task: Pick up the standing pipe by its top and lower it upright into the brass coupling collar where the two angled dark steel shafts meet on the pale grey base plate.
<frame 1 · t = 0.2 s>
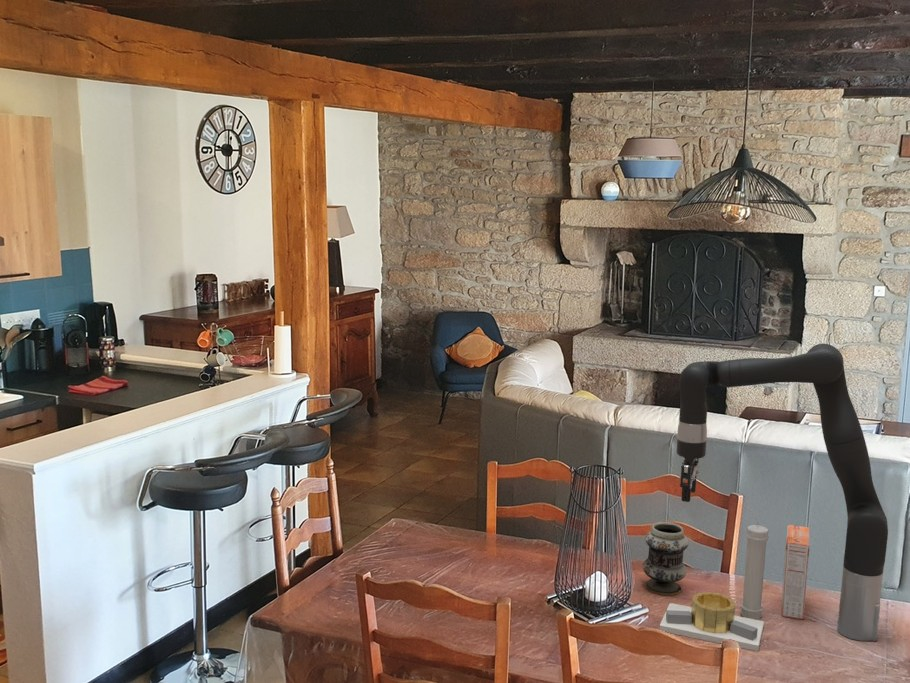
hand: (688, 496, 246), 29 cm above the table, tool pointing down, fingers open, 8 cm apart
cracker box: (792, 608, 248), on the table
pipe: (749, 616, 243), on the table
coupling collar: (713, 612, 234), point 4 cm above the table
apothecary jar: (663, 588, 258), on the table
shaft base: (711, 628, 235), on the table
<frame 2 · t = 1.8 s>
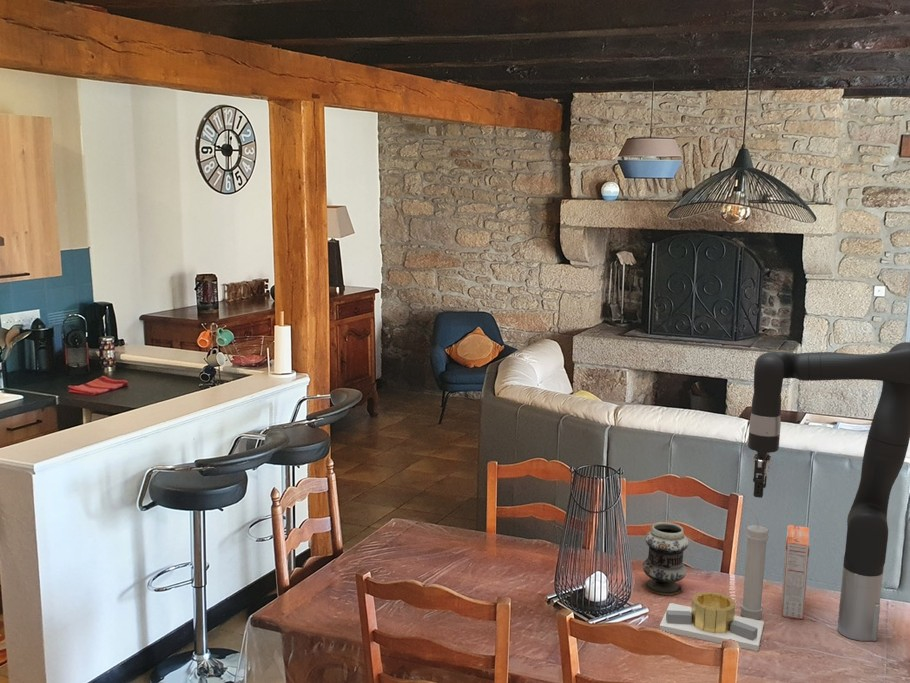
hand: (759, 492, 237), 34 cm above the table, tool pointing down, fingers open, 8 cm apart
nothing on the table moved.
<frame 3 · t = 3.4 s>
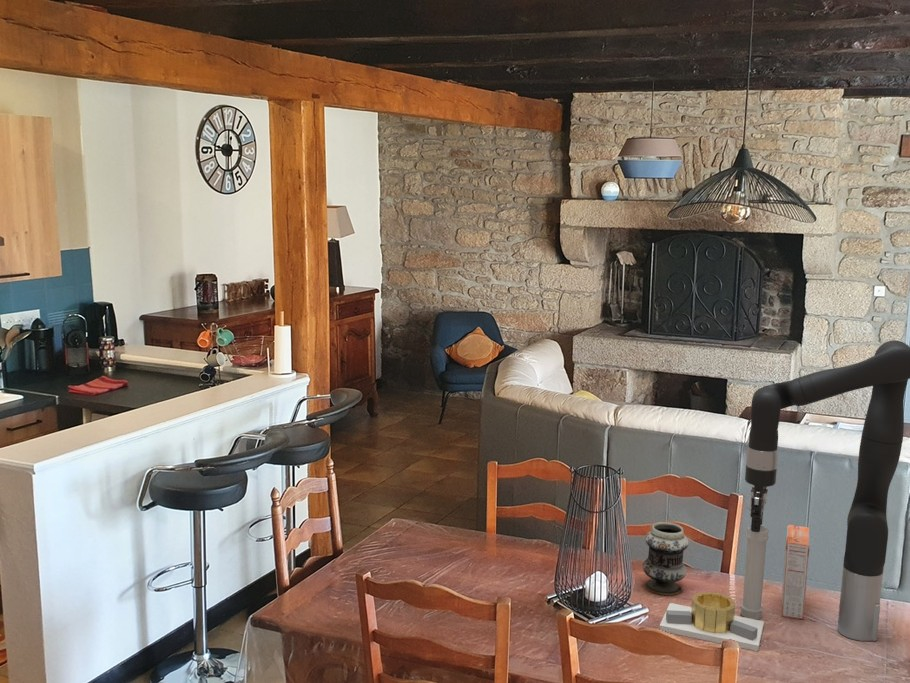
hand: (756, 527, 239), 24 cm above the table, tool pointing down, fingers closed on pipe, 5 cm apart
pipe: (749, 616, 243), on the table, touching gripper
everything else where it was.
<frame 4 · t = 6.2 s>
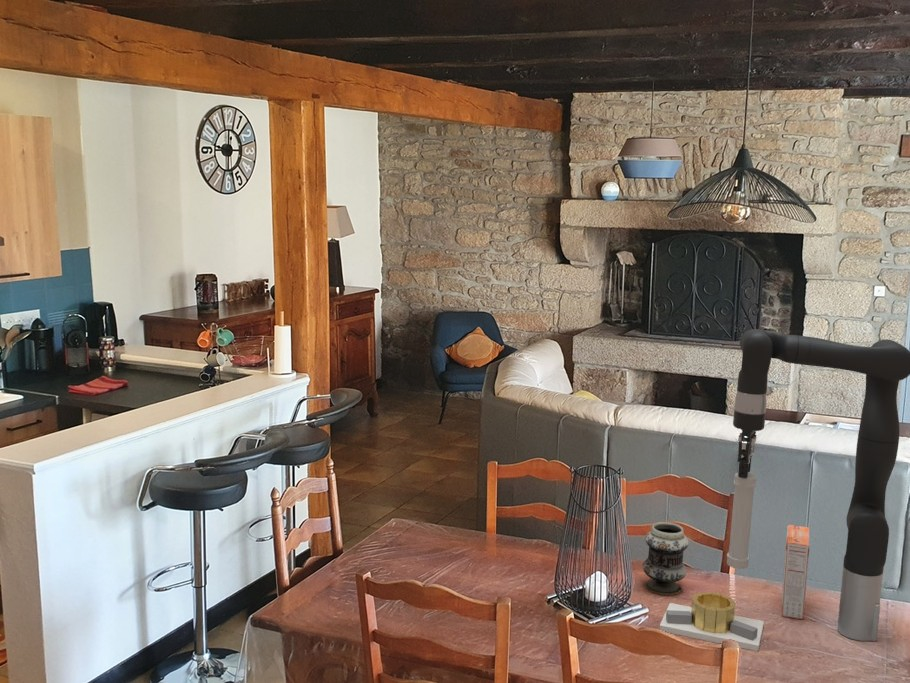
hand: (744, 474, 233), 40 cm above the table, tool pointing down, fingers closed on pipe, 5 cm apart
pipe: (735, 565, 237), point 15 cm above the table, touching gripper
everything else where it was.
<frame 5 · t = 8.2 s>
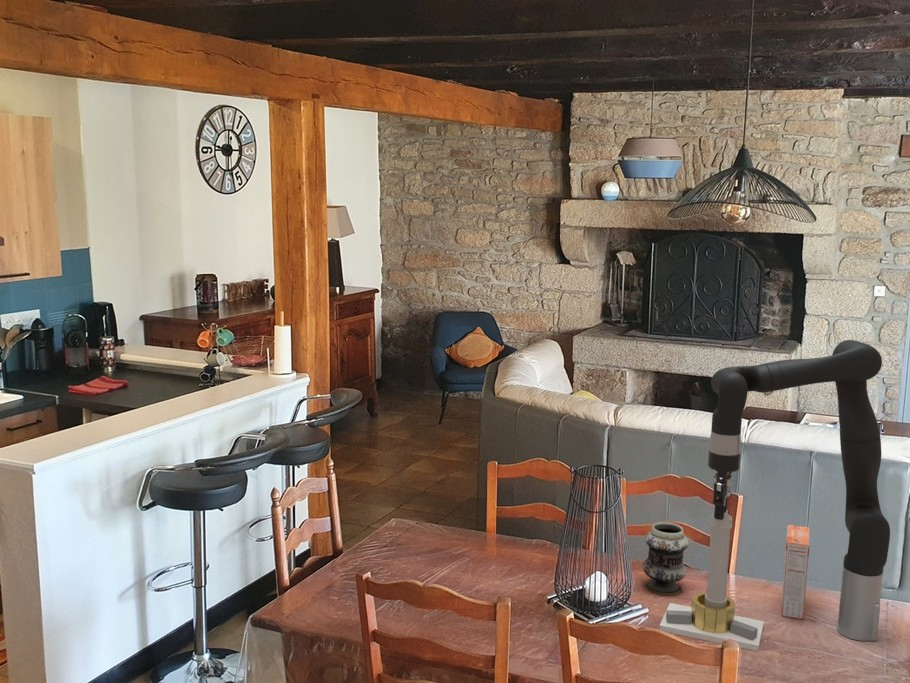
hand: (720, 515, 230), 30 cm above the table, tool pointing down, fingers closed on pipe, 5 cm apart
pipe: (713, 607, 234), point 6 cm above the table, touching gripper
everything else where it was.
when the fingers open (27 cm above the table, at t = 9.5 s): pipe stays where it is, resting on shaft base.
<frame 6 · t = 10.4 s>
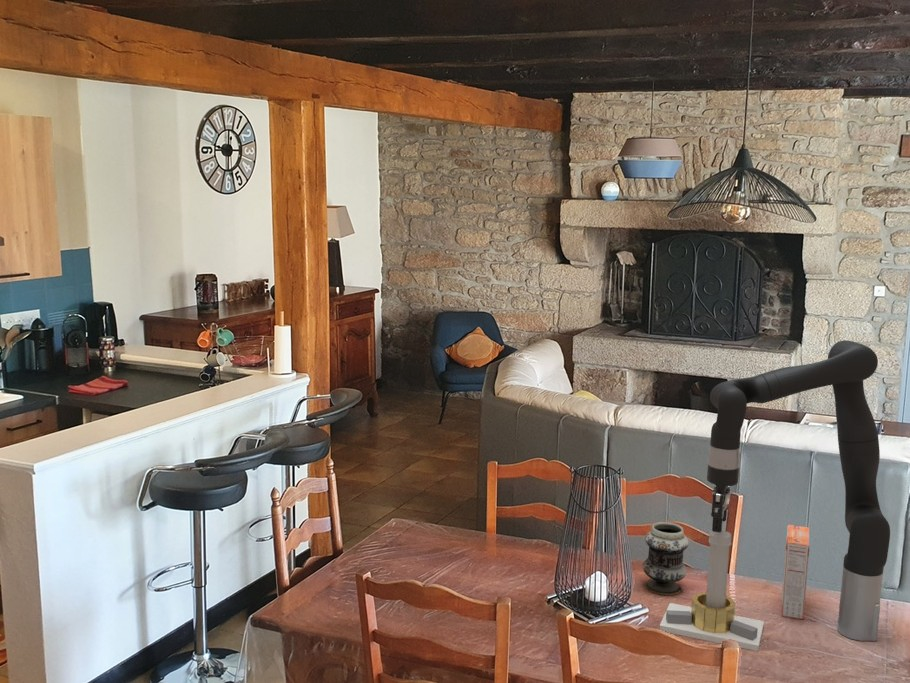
hand: (719, 526, 230), 28 cm above the table, tool pointing down, fingers open, 8 cm apart
pipe: (712, 624, 235), point 1 cm above the table, touching shaft base
everything else where it was.
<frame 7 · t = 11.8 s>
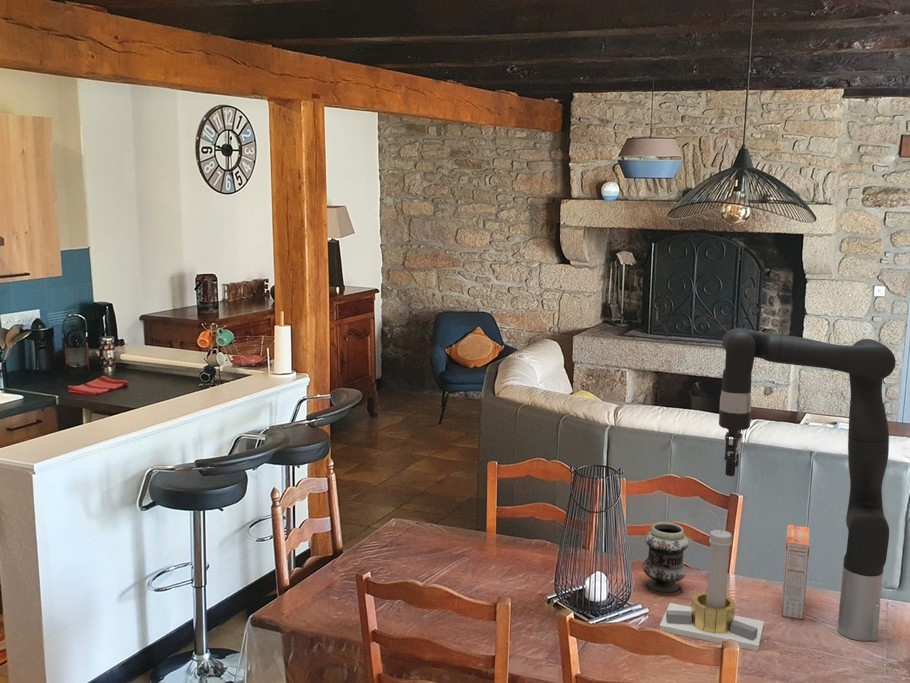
hand: (731, 470, 233), 41 cm above the table, tool pointing down, fingers open, 8 cm apart
nothing on the table moved.
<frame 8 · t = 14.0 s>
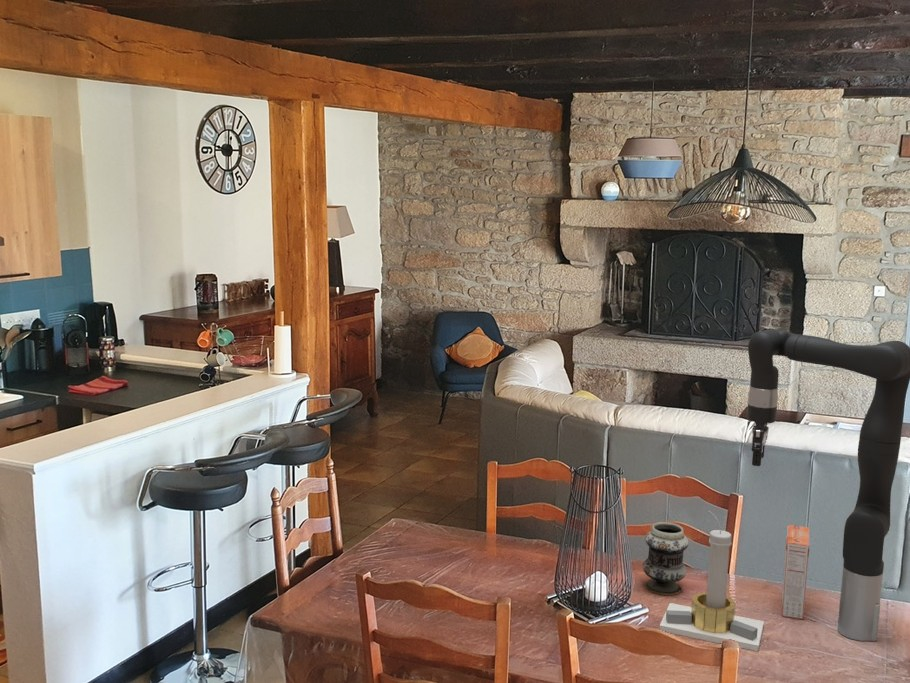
hand: (757, 461, 250), 38 cm above the table, tool pointing down, fingers open, 8 cm apart
nothing on the table moved.
at the end: pipe 0.1 cm off-centre on the coupling collar, point 1.3 cm above the coupling collar's base; pipe tilted 0°; the gripper is holding nothing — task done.
